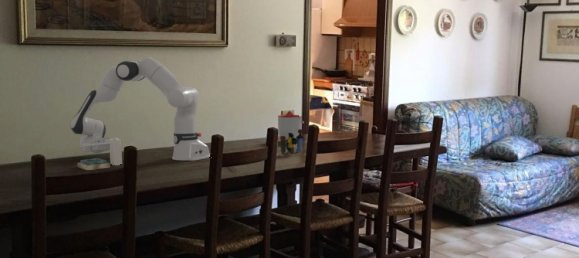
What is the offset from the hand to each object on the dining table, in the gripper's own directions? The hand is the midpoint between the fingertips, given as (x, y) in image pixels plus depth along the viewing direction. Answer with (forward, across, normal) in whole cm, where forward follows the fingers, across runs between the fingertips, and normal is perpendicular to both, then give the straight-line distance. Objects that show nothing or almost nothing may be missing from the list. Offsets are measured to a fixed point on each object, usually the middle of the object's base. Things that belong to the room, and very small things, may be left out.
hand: (107, 147), depth 320 cm
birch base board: (+11, -12, +7) cm, 18 cm away
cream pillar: (+11, 0, +8) cm, 14 cm away
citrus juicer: (+7, +121, +8) cm, 121 cm away
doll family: (+44, +91, +8) cm, 101 cm away
